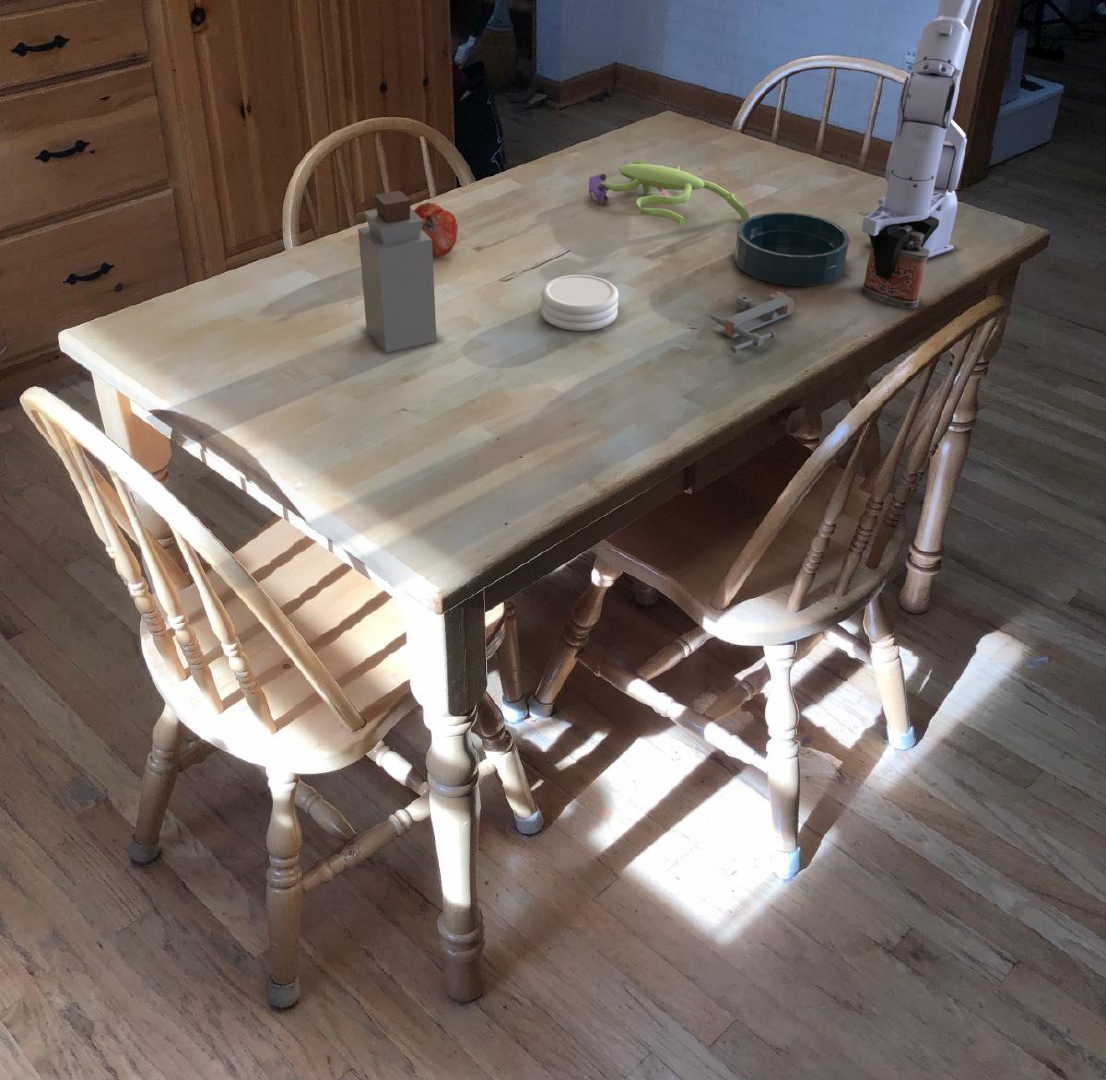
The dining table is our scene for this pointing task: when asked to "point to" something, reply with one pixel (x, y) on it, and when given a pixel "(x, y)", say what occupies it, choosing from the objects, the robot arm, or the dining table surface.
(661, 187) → the figurine
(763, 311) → the clamp
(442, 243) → the pomegranate
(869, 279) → the lighter
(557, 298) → the coaster
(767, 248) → the bowl
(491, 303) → the dining table surface
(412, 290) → the perfume bottle
